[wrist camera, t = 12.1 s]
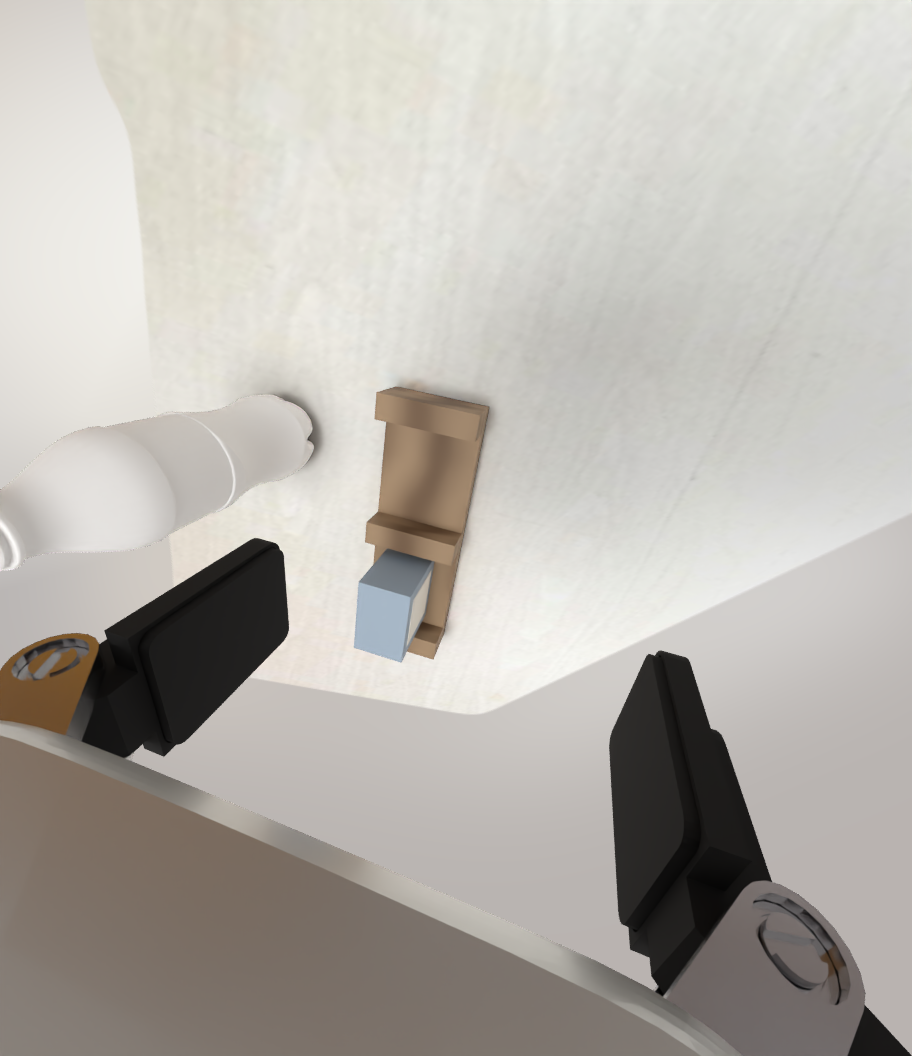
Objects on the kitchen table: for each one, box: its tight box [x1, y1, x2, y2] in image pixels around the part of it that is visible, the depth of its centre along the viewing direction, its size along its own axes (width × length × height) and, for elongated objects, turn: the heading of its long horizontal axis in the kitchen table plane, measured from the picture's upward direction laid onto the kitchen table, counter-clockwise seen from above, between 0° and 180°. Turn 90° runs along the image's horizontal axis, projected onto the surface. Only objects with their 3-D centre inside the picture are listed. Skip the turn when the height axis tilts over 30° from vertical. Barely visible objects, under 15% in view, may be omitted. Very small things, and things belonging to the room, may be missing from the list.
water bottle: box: [0, 394, 314, 571], centre depth 28 cm, size 7×7×25 cm
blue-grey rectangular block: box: [354, 548, 435, 662], centre depth 37 cm, size 4×7×7 cm, turn 170°
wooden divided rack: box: [365, 387, 489, 659], centre depth 38 cm, size 8×24×4 cm, turn 170°
